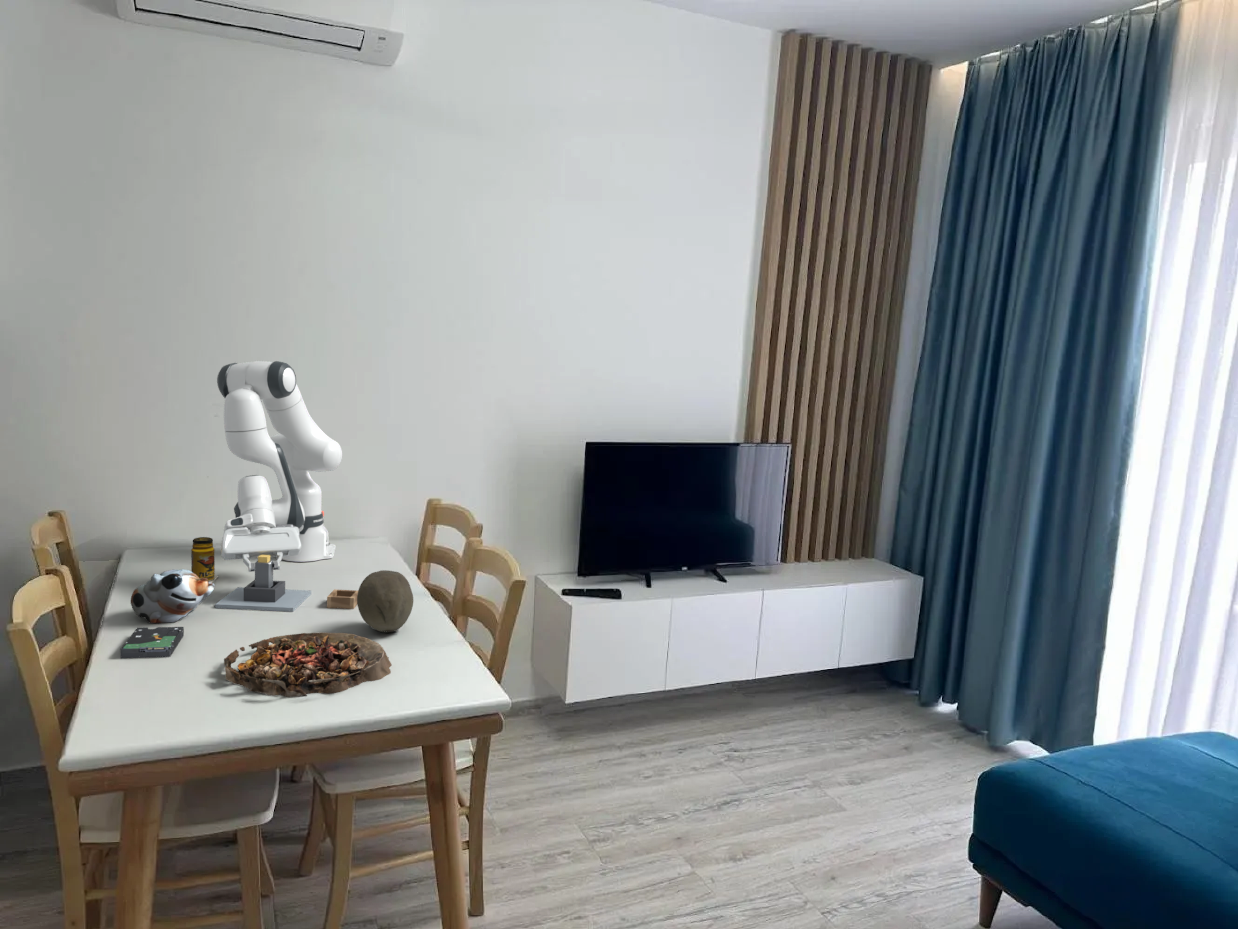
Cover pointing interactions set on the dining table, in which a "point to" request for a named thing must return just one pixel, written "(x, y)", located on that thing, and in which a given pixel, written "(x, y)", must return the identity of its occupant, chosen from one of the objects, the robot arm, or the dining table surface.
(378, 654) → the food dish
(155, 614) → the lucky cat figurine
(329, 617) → the dining table surface
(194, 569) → the condiment
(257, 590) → the port
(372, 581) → the grey brown round stone
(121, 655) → the disk drive
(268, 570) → the plug
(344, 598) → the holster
